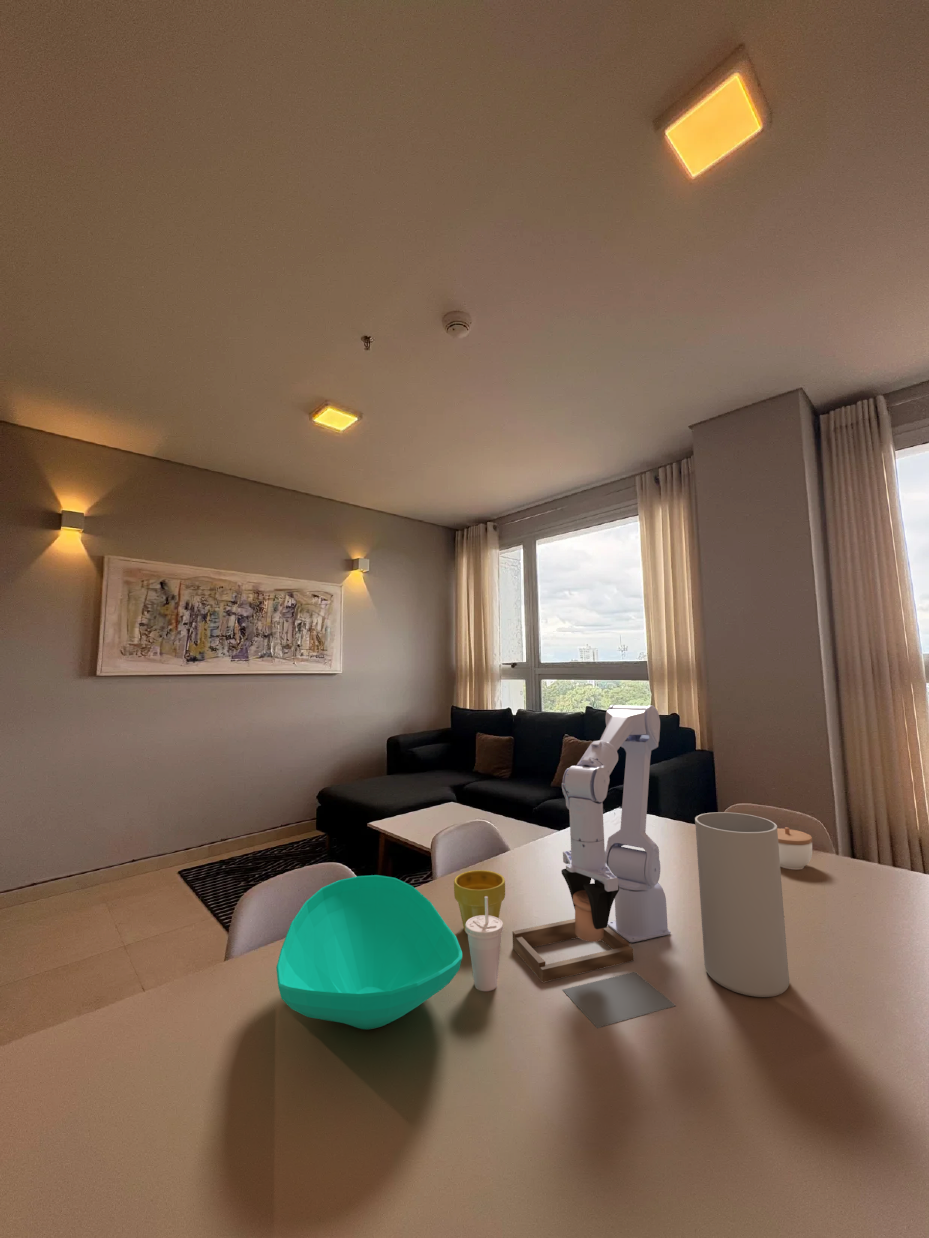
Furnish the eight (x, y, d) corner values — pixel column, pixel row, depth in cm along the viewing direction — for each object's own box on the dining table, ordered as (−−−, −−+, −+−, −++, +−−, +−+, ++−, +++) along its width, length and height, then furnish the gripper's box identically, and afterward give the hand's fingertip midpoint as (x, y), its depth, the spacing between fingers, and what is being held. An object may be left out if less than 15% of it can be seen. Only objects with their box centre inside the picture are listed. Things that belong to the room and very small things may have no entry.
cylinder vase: (721, 949, 98) (711, 808, 100) (799, 975, 89) (786, 820, 92) (692, 978, 89) (683, 823, 92) (776, 1010, 80) (763, 837, 83)
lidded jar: (756, 862, 140) (754, 825, 141) (783, 855, 145) (780, 819, 146) (796, 876, 131) (793, 836, 132) (824, 868, 135) (821, 830, 136)
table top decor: (500, 1082, 68) (497, 971, 69) (267, 1143, 60) (268, 1016, 61) (429, 936, 105) (428, 866, 107) (280, 961, 97) (281, 885, 99)
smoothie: (493, 1000, 84) (490, 907, 86) (459, 988, 88) (456, 899, 89) (511, 980, 90) (509, 893, 91) (478, 969, 93) (476, 885, 95)
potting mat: (635, 973, 91) (635, 971, 91) (676, 1007, 82) (676, 1005, 82) (562, 991, 87) (562, 989, 87) (597, 1029, 77) (597, 1027, 77)
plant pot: (502, 944, 102) (501, 890, 103) (449, 940, 104) (448, 887, 105) (509, 919, 112) (507, 870, 113) (460, 916, 114) (459, 868, 115)
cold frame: (595, 930, 106) (595, 914, 106) (633, 960, 95) (632, 942, 95) (512, 948, 100) (512, 931, 100) (542, 982, 89) (542, 963, 89)
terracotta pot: (594, 922, 95) (594, 888, 95) (612, 939, 90) (613, 903, 90) (566, 927, 93) (566, 892, 94) (583, 945, 88) (584, 908, 88)
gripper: (547, 828, 98) (549, 906, 97) (589, 853, 85) (593, 943, 83) (580, 824, 101) (584, 900, 99) (627, 847, 87) (631, 935, 86)
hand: (590, 919), depth 92 cm, fingers closed on terracotta pot, 5 cm apart
